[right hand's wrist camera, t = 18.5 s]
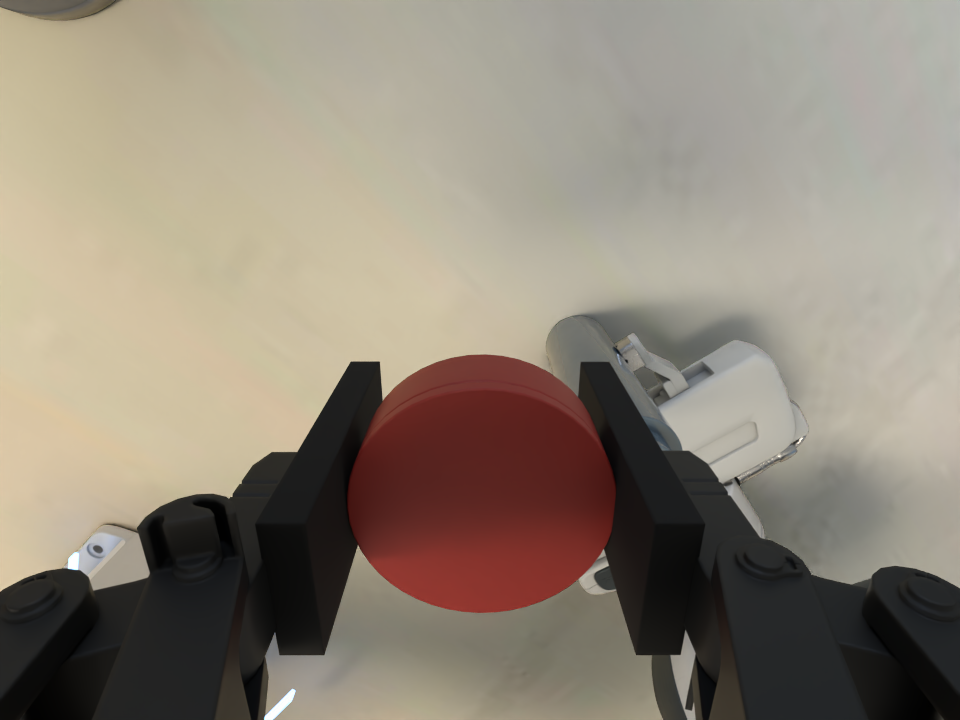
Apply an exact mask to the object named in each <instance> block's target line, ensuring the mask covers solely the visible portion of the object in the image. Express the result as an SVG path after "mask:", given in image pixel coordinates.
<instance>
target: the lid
mask: <svg viewBox="0 0 960 720" xmlns="http://www.w3.org/2000/svg"><path fill="white" fill-rule="evenodd" d="M615 497H616V482H615V478H614V474H613V470H612V467H611V465H610V462H609V460H608V457H607V455H606V452H605V450H604V448H603V445H602V443H601V440H600V438H599V435H598V433H597V430H596V428H595V425H594V423H593V421H592V419H591V416H590V414H589V412H588V411H587V409H586V408H585V406H584V404H583V403H582V401H581V400H580V399H579V398H578V397H577V396H576V394H575V393H574V392H573V391H572V390H571V389H570V388H569V387H568V386H567V385H565V384H564V383H563V382H562V381H561V380H559V379H558V378H556V377H555V376H553V375H552V374H550V373H549V372H547V371H545V370H543V369H541V368H539V367H537V366H535V365H533V364H530V363H527V362H524V361H521V360H518V359H514V358H509V357H504V356H496V355H466V356H460V357H454V358H450V359H446V360H443V361H439V362H436V363H434V364H431V365H429V366H427V367H425V368H422V369H420V370H419V371H417V372H415V373H414V374H412V375H410V376H409V377H407V378H406V379H405V380H403V381H402V382H401V383H400V384H398V385H397V386H396V387H395V388H394V389H393V390H392V391H391V392H390V393H389V394H388V395H387V396H386V397H385V399H384V400H383V402H382V403H381V404H380V406H379V407H378V409H377V410H376V412H375V414H374V416H373V418H372V420H371V422H370V425H369V427H368V430H367V432H366V435H365V437H364V440H363V442H362V445H361V448H360V450H359V453H358V455H357V458H356V460H355V463H354V466H353V469H352V472H351V475H350V478H349V484H348V490H347V510H348V516H349V522H350V525H351V528H352V531H353V535H354V537H355V539H356V541H357V543H358V545H359V547H360V549H361V551H362V552H363V554H364V555H365V557H366V558H367V560H368V561H369V563H370V564H371V565H372V566H373V567H374V568H375V569H376V570H377V571H378V573H379V574H381V575H382V576H383V577H384V578H385V579H386V580H387V581H389V582H390V583H391V584H393V585H394V586H395V587H397V588H398V589H400V590H401V591H403V592H405V593H407V594H408V595H410V596H412V597H414V598H416V599H418V600H421V601H423V602H426V603H429V604H431V605H434V606H438V607H442V608H445V609H450V610H456V611H462V612H475V613H488V612H501V611H509V610H514V609H518V608H523V607H527V606H530V605H532V604H535V603H538V602H541V601H543V600H545V599H548V598H550V597H552V596H554V595H556V594H558V593H559V592H561V591H563V590H564V589H566V588H567V587H569V586H570V585H572V584H573V583H574V582H575V581H577V580H578V579H579V578H580V577H582V576H583V574H584V573H585V572H586V571H587V570H588V569H589V568H590V567H591V566H592V565H593V564H594V562H595V561H596V560H597V559H598V557H599V556H600V555H601V553H602V551H603V549H604V548H605V546H606V544H607V542H608V540H609V537H610V535H611V532H612V524H613V515H614V506H615Z"/></svg>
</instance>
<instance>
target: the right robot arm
mask: <svg viewBox="0 0 960 720" xmlns="http://www.w3.org/2000/svg"><path fill="white" fill-rule="evenodd" d="M114 1H116V0H0V7H2V8H5V9H8V10H11V11H14V12H17V13H20V14H23V15H27V16H30V17H35V18H39V19H46V20H71V19H77V18H82V17H86V16H89V15H91V14H94V13H96V12H98V11H100V10H102V9H104V8H106V7H107V6H109V5H110V4H112V3H113V2H114ZM578 398H579V399H580V400H581V401H582V403H583V404H584V406H585V408H586V409H587V411H588V412H589V414H590V416H591V419H592V421H593V423H594V425H595V428H596V430H597V433H598V435H599V438H600V440H601V443H602V445H603V448H604V450H605V452H606V455H607V457H608V460H609V462H610V465H611V467H612V470H613V474H614V478H615V482H616V497H615V506H614V515H613V524H612V532H611V535H610V537H609V540H608V542H607V544H606V546H605V548H604V551H605V555H606V558H607V561H608V565H609V568H610V571H611V574H612V578H613V581H614V584H615V588H616V591H617V594H618V597H619V601H620V604H621V607H622V610H623V614H624V617H625V620H626V624H627V627H628V630H629V633H630V637H631V640H632V643H633V647H634V650H635V653H636V655H681V651H682V646H683V640H684V635H685V630H686V632H687V634H688V637H689V639H690V641H691V644H692V646H693V649H694V651H695V653H696V654H695V659H694V664H693V669H692V674H691V679H690V684H689V689H688V694H687V699H686V705H685V709H686V710H690V711H692V709H693V704H694V708H695V718H696V720H960V588H958V587H957V586H955V585H953V584H951V583H949V582H947V581H945V580H943V579H941V578H939V577H938V576H935V575H932V574H930V573H926V572H924V571H920V570H917V569H913V568H906V567H899V566H892V567H885V568H880V569H879V570H878V571H877V572H875V573H874V574H873V575H872V578H871V581H870V584H869V587H868V588H864V587H859V586H855V585H850V584H846V583H841V582H837V581H832V580H828V579H824V578H821V577H817V576H814V575H811V573H810V571H809V570H808V568H807V567H806V565H805V564H804V562H803V561H802V560H801V559H800V558H799V557H798V556H796V555H795V554H794V553H793V552H791V551H790V550H789V549H787V548H785V547H783V546H781V545H779V544H777V543H775V542H773V541H770V540H767V539H763V538H760V536H759V535H758V534H757V532H756V531H755V529H754V528H753V527H752V525H751V524H750V522H749V521H748V520H747V518H746V517H745V515H744V514H743V513H742V511H741V510H740V508H739V507H738V506H737V504H736V503H735V501H734V500H733V498H732V497H731V496H730V495H728V491H727V490H726V489H725V487H724V486H723V484H722V483H721V482H719V479H718V477H717V476H716V475H715V473H714V472H713V470H712V469H711V468H710V466H709V465H708V464H707V463H706V462H705V461H703V460H702V459H700V458H699V457H697V456H696V455H694V454H693V453H692V452H690V451H662V450H661V448H660V446H659V445H658V443H657V441H656V440H655V438H654V436H653V434H652V433H651V431H650V429H649V428H648V426H647V424H646V423H645V421H644V419H643V418H642V416H641V414H640V412H639V411H638V409H637V407H636V406H635V404H634V402H633V401H632V399H631V397H630V396H629V394H628V392H627V391H626V389H625V387H624V385H623V384H622V382H621V380H620V379H619V377H618V375H617V374H616V372H615V370H614V369H613V367H612V365H611V364H610V362H581V364H580V377H579V391H578ZM382 402H383V400H382V386H381V373H380V362H350V364H349V366H348V367H347V369H346V371H345V373H344V374H343V376H342V378H341V379H340V381H339V383H338V384H337V386H336V388H335V389H334V391H333V393H332V395H331V396H330V398H329V400H328V401H327V403H326V405H325V406H324V408H323V410H322V411H321V413H320V415H319V416H318V418H317V420H316V422H315V423H314V425H313V427H312V428H311V430H310V432H309V433H308V435H307V437H306V438H305V440H304V442H303V443H302V445H301V447H300V449H299V450H298V452H271V453H270V454H269V455H267V456H266V457H264V458H263V459H261V460H260V461H259V462H257V463H256V464H254V465H253V466H252V467H251V469H250V470H249V472H248V473H247V474H246V476H245V477H244V479H243V480H242V484H239V486H238V487H237V489H236V490H235V491H234V493H233V497H230V499H228V498H227V497H224V496H220V495H216V494H196V495H192V496H188V497H184V498H180V499H177V500H174V501H172V502H170V503H167V504H165V505H163V506H161V507H159V508H158V509H156V510H155V511H153V512H152V513H151V514H149V515H148V516H146V517H145V519H144V520H143V521H142V522H141V524H140V525H139V526H138V527H137V530H138V534H139V537H140V541H141V544H142V548H143V551H144V555H145V558H146V562H147V565H148V569H149V572H150V574H149V576H148V578H144V579H141V580H137V581H133V582H129V583H125V584H120V585H116V586H111V587H107V588H102V589H98V590H93V588H92V585H91V582H90V579H89V577H88V576H87V575H86V574H84V573H83V572H82V571H81V570H75V569H68V568H63V569H56V570H49V571H45V572H42V573H38V574H36V575H32V576H30V577H27V578H24V579H22V580H21V581H19V582H17V583H15V584H13V585H11V586H9V587H7V588H5V589H3V590H2V591H1V592H0V720H264V719H265V709H266V699H267V688H268V678H269V677H268V670H267V664H266V659H265V655H266V652H267V650H268V647H269V645H270V643H271V640H272V638H273V635H274V633H276V639H277V644H278V649H279V654H280V655H324V654H325V651H326V648H327V644H328V641H329V638H330V635H331V631H332V628H333V625H334V621H335V618H336V615H337V612H338V608H339V605H340V602H341V598H342V595H343V592H344V589H345V585H346V582H347V579H348V575H349V572H350V569H351V566H352V562H353V559H354V556H355V552H356V549H357V546H358V543H357V541H356V539H355V537H354V535H353V531H352V528H351V525H350V522H349V516H348V510H347V490H348V484H349V478H350V475H351V472H352V469H353V466H354V463H355V460H356V458H357V455H358V453H359V450H360V448H361V445H362V442H363V440H364V437H365V435H366V432H367V430H368V427H369V425H370V422H371V420H372V418H373V416H374V414H375V412H376V410H377V409H378V407H379V406H380V404H381V403H382Z"/></svg>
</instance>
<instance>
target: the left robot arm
mask: <svg viewBox="0 0 960 720" xmlns="http://www.w3.org/2000/svg"><path fill="white" fill-rule="evenodd" d="M614 345H615V347H616V348H617V350H618V351H619V353H620V354H621V355H622V357H623V358H624V359H625V361H626V362H627V363H628V365H629V366H630V368H631V369H632V371H633V372H634V371H636V370H637V369H639V368H641V367H643V366H644V367H646V368H648V369H650V370H652V371H654V375H655V377H656V378H657V380H658V382H659V384H657V385H656V386H654V387H652V388H651V389H649V390H647V392H648V394H649V395H650V397H651V398H652V400H653V401H654V403H655V404H656V406H657V407H658V408H659V410H660V411H661V413H662V414H663V416H664V417H665V419H666V420H667V422H668V423H669V424H670V426H671V427H672V429H673V430H674V432H675V433H676V435H677V436H678V438H679V440H680V442H681V445H682V449H683V451H690V452H692V453H693V454H694V455H696V456H697V457H699V458H700V459H702V460H703V461H705V462H706V463H707V464H708V465H709V466H710V468H711V469H712V470H713V472H714V473H715V475H716V476H717V477H718V479H719V482H721V483H722V484H723V486H724V487H725V489H726V490H727V491H728V495H730V496H731V497H732V498H733V500H734V501H735V503H736V504H737V506H738V507H739V508H740V510H741V511H742V513H743V514H744V515H745V517H746V518H747V520H748V521H749V522H750V524H751V525H752V527H753V528H754V529H755V531H756V532H757V534H758V535H759V536H760V538H763V539H765V533H764V529H763V526H762V523H761V521H760V519H759V517H758V515H757V514H756V512H755V511H754V509H753V507H752V506H751V504H750V503H749V501H748V499H747V498H746V496H745V495H744V493H743V491H742V489H741V488H740V484H741V483H743V482H745V481H747V480H749V479H751V478H753V477H755V476H757V475H758V474H760V473H762V472H763V471H765V470H766V468H769V467H770V466H772V465H773V464H776V463H778V462H783V461H785V460H787V459H789V458H791V457H792V456H793V455H795V454H796V453H797V449H796V448H797V447H798V446H799V445H800V444H801V443H802V442H803V441H804V439H805V437H806V435H807V434H808V432H809V427H808V423H807V421H806V419H805V417H804V415H803V413H802V411H801V410H800V408H799V406H798V405H797V404H796V403H795V402H794V401H792V400H790V399H789V396H788V393H787V390H786V387H785V385H784V382H783V380H782V377H781V375H780V373H779V370H778V368H777V366H776V364H775V363H774V361H773V359H772V358H771V357H770V356H769V355H768V354H767V353H765V352H764V351H763V350H762V349H760V348H759V347H757V346H755V345H753V344H751V343H748V342H744V341H740V340H733V341H731V342H729V343H727V344H726V345H724V346H722V347H720V348H719V349H717V350H715V351H714V352H712V353H710V354H709V355H707V356H705V357H703V358H702V359H700V360H698V361H697V362H695V363H693V364H692V365H690V366H688V367H686V368H685V369H683V370H681V371H679V370H678V369H677V368H676V367H675V366H674V365H673V364H672V363H671V362H670V361H668V360H666V359H663V358H661V357H659V356H657V355H655V354H653V353H650V352H648V351H646V350H645V348H644V346H643V345H642V343H641V342H640V340H639V339H638V337H637V336H636V335H635V334H634V333H631V334H630V335H628V336H626V337H625V338H623V339H622V340H620V341H618V342H617V343H615V344H614ZM792 442H793V443H792ZM63 568H68V569H75V570H81V571H82V572H83V573H84V574H86V575H87V576H88V577H89V579H90V582H91V585H92V588H93V590H98V589H102V588H107V587H111V586H116V585H120V584H125V583H129V582H133V581H137V580H141V579H144V578H148V576H149V574H150V572H149V569H148V565H147V562H146V558H145V555H144V551H143V548H142V544H141V541H140V537H139V534H138V533H136V532H133V531H130V530H127V529H124V528H121V527H117V526H113V525H102V526H100V527H99V528H98V529H97V530H96V531H95V532H94V533H93V534H92V535H91V536H90V538H89V539H88V540H87V541H86V542H85V543H84V544H83V546H82V547H81V548H80V549H79V550H78V551H77V552H76V553H74V554H73V555H72V556H71V557H70V558H69V562H68V563H67V564H66V565H65V566H64V567H63ZM63 568H62V569H63ZM578 580H579V582H580V584H581V586H582V587H583V589H584V590H585V591H586V592H587V593H589V594H593V595H599V594H604V593H609V592H613V591H616V588H615V584H614V581H613V578H612V574H611V571H610V568H609V565H608V561H607V558H606V555H605V551H604V549H603V551H602V553H601V555H600V556H599V557H598V559H597V560H596V561H595V562H594V564H593V565H592V566H591V567H590V568H589V569H588V570H587V571H586V572H585V573H584V574H583V576H582V577H580V578H579V579H578ZM870 581H871V579H868V580H865V581H862V582H858V583H855V584H852V585H855V586H859V587H864V588H868V587H869V584H870ZM695 654H696V653H695V651H694V649H693V646H692V644H691V641H690V639H689V637H688V634H687V632H686V630H685V635H684V640H683V646H682V651H681V655H652V678H653V686H654V692H655V697H656V701H657V704H658V707H659V710H660V713H661V715H662V718H663V720H696V718H695V708H694V704H693V709H692V711H690V710H686V709H685V705H686V699H687V694H688V689H689V684H690V679H691V674H692V669H693V664H694V659H695ZM294 693H295V690H293V689H292V690H291V691H290V692H289V693H288V694H287V695H286V696H285V697H284V698H283V699H282V700H281V701H280V702H279V703H278V704H277V705H276V706H275V707H274V708H273V709H272V710H271V711H270V712H269V713H268V714H267V715H266V716H265V719H264V720H273V719H274V718H275V717H276V716H277V715H278V714H279V713H280V712H281V711H282V710H283V709H284V708H285V707H286V706H287V705H288V704H289V703H290V702H291V701H292V699H293V696H294Z"/></svg>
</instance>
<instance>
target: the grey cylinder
mask: <svg viewBox="0 0 960 720" xmlns="http://www.w3.org/2000/svg"><path fill="white" fill-rule="evenodd" d="M546 352H547V356H548V359H549V362H550V366H551V369H552V372H553V376H555V377H556V378H558V379H559V380H561V381H562V382H563V383H564V384H565V385H567V386H568V387H569V388H570V389H571V390H572V391H573V392H574V393H575V394H576V396H577V397H578V391H579V377H580V364H581V362H610V364H611V365H612V367H613V369H614V370H615V372H616V374H617V375H618V377H619V379H620V380H621V382H622V384H623V385H624V387H625V389H626V391H627V392H628V394H629V396H630V397H631V399H632V401H633V402H634V404H635V406H636V407H637V409H638V411H639V412H640V414H641V416H642V418H643V419H644V421H645V423H646V424H647V426H648V428H649V429H650V431H651V433H652V434H653V436H654V438H655V440H656V441H657V443H658V445H659V446H660V448H661V450H662V451H683V449H682V445H681V442H680V440H679V438H678V436H677V435H676V433H675V432H674V430H673V429H672V427H671V426H670V424H669V423H668V422H667V420H666V419H665V417H664V416H663V414H662V413H661V411H660V410H659V408H658V407H657V406H656V404H655V403H654V401H653V400H652V398H651V397H650V395H649V394H648V392H647V391H646V390H645V388H644V387H643V385H642V384H641V382H640V381H639V379H638V378H637V376H636V375H635V374H634V372H633V371H632V369H631V368H630V366H629V365H628V363H627V362H626V361H625V359H624V358H623V357H622V355H621V354H620V353H619V351H618V350H617V348H616V347H615V345H614V343H613V342H612V340H611V339H610V337H609V336H608V334H607V333H606V331H605V330H604V329H603V327H602V326H601V325H600V324H599V323H598V322H597V321H595V320H593V319H591V318H589V317H585V316H573V317H569V318H566V319H564V320H562V321H560V322H559V323H558V324H556V325H555V326H554V327H553V329H552V330H551V331H550V333H549V335H548V338H547V342H546Z"/></svg>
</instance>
